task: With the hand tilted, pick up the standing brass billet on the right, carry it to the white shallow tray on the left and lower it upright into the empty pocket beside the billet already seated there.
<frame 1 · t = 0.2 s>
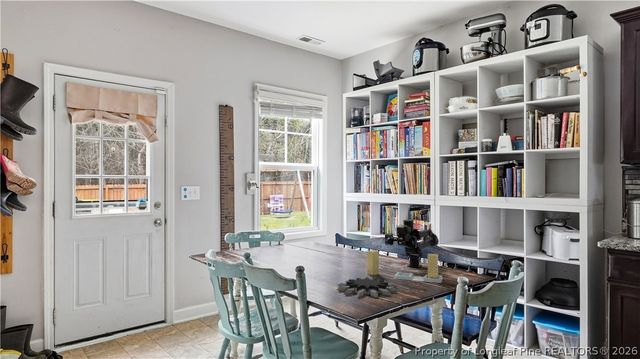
hand: (393, 243, 211), 17 cm above the table, tool horizontal, fingers open, 9 cm apart
seated billet: (433, 279, 196), point 1 cm above the table, touching white shallow tray
decorative piece: (367, 290, 181), on the table
white shallow tray: (418, 280, 199), on the table
billet: (372, 274, 212), on the table
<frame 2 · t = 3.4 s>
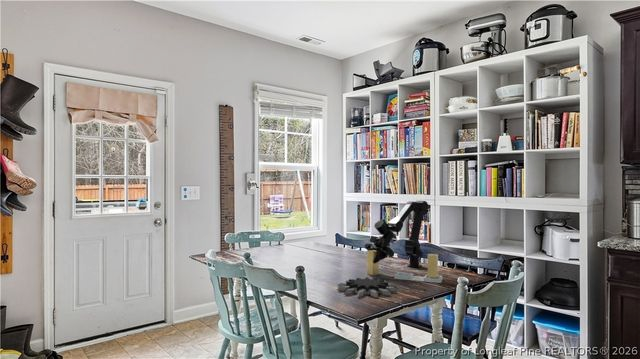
hand: (370, 262, 211), 7 cm above the table, tool tilted 45°, fingers closed on billet, 4 cm apart
billet: (372, 274, 212), on the table, touching gripper
everything else where it was.
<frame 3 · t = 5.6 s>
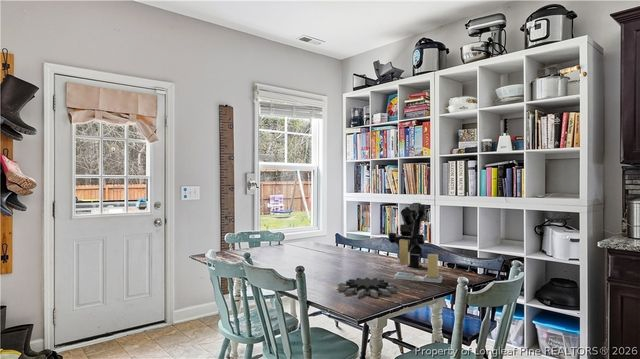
hand: (403, 251, 206), 13 cm above the table, tool tilted 45°, fingers closed on billet, 4 cm apart
billet: (404, 263, 207), point 7 cm above the table, touching gripper
everything else where it was.
when the fingers open (8 cm above the table, at t = 7.6 s): billet stays where it is, resting on white shallow tray.
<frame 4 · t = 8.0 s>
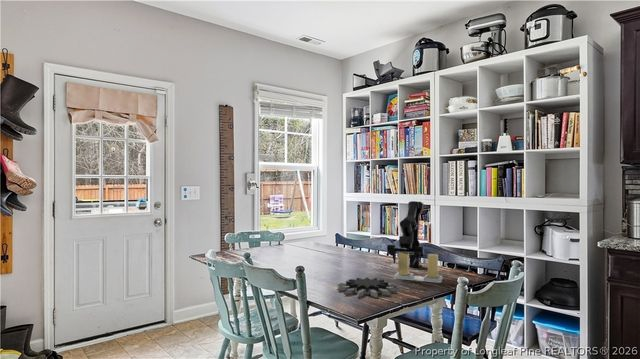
hand: (403, 264, 200), 8 cm above the table, tool tilted 45°, fingers open, 9 cm apart
billet: (403, 277, 201), point 1 cm above the table, touching white shallow tray
everything else where it was.
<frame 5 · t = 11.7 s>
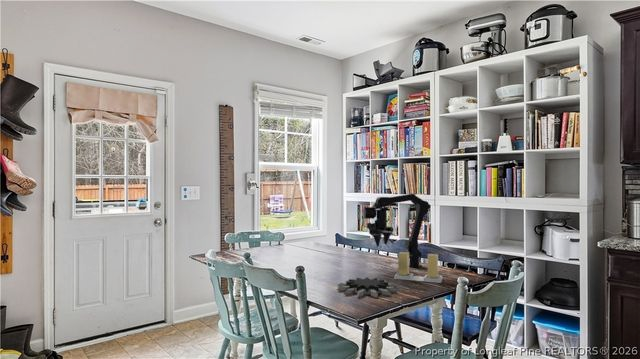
hand: (381, 245, 229), 13 cm above the table, tool pointing down, fingers open, 9 cm apart
nothing on the table moved.
at the end: billet 0.0 cm from the target spot, point 0.8 cm above the table; billet tilted 0°; seated billet moved 0.0 cm from its start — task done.
